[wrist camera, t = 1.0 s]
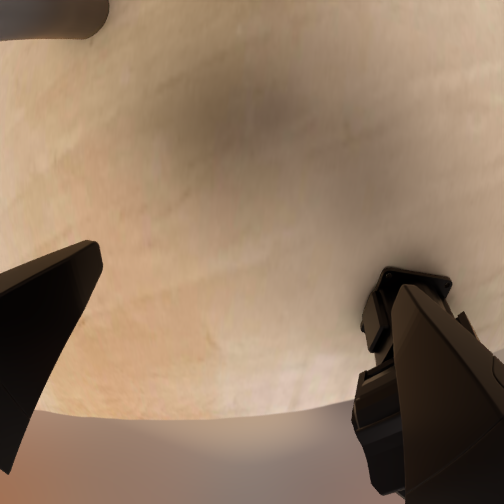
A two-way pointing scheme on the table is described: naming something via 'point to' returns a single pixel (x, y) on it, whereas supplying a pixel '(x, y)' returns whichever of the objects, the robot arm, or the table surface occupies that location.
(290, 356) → the table surface
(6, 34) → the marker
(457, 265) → the table surface
